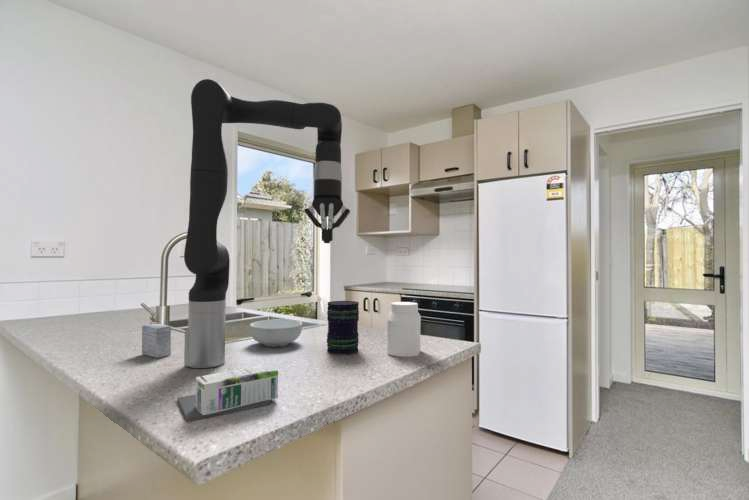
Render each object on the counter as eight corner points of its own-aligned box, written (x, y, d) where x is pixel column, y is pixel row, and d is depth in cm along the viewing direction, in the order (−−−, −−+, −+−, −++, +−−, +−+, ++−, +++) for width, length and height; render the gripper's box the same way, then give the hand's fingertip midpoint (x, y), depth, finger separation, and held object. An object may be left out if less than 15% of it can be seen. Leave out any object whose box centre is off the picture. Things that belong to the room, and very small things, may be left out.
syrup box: (278, 399, 79) (202, 417, 70) (266, 390, 83) (193, 406, 74) (279, 370, 79) (203, 384, 70) (266, 363, 83) (194, 376, 74)
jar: (391, 347, 127) (391, 300, 127) (421, 348, 125) (421, 301, 125) (385, 356, 116) (386, 305, 116) (418, 357, 114) (418, 306, 114)
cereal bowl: (238, 347, 126) (238, 325, 126) (269, 337, 141) (269, 317, 141) (284, 352, 120) (284, 329, 120) (311, 341, 135) (311, 320, 135)
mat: (252, 387, 87) (252, 384, 87) (270, 404, 77) (270, 401, 77) (177, 400, 79) (177, 397, 79) (186, 421, 69) (186, 418, 69)
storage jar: (345, 356, 115) (346, 305, 115) (320, 351, 120) (320, 302, 121) (364, 349, 123) (365, 302, 124) (340, 345, 129) (340, 300, 129)
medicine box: (171, 355, 115) (171, 325, 115) (155, 358, 111) (156, 328, 111) (156, 351, 119) (157, 323, 119) (141, 354, 115) (141, 325, 116)
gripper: (301, 177, 104) (300, 242, 104) (350, 177, 104) (350, 242, 104) (306, 182, 112) (305, 243, 112) (353, 182, 112) (352, 243, 111)
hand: (327, 243), depth 108 cm, fingers closed
